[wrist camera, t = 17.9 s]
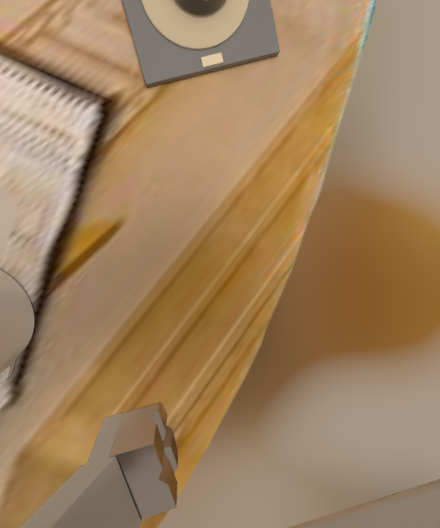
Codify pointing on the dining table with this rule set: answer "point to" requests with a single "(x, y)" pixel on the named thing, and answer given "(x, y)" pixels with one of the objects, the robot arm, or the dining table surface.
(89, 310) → the dining table surface
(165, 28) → the slate board
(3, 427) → the dining table surface
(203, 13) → the supplement bottle
